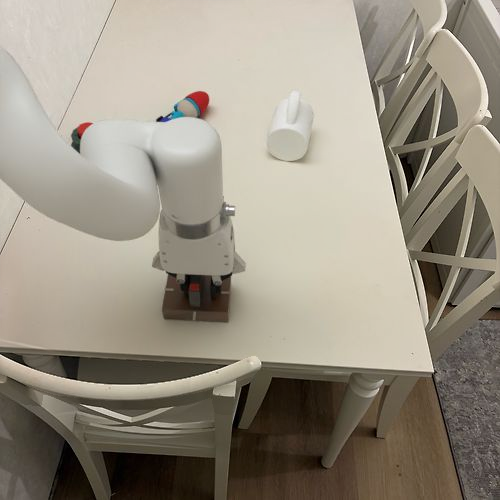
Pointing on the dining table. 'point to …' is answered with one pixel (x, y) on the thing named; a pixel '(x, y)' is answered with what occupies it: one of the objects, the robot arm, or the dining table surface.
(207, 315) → the knob base block
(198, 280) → the bar knob
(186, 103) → the toy figure
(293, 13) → the dining table surface
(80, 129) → the button
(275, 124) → the mug
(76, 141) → the button box
